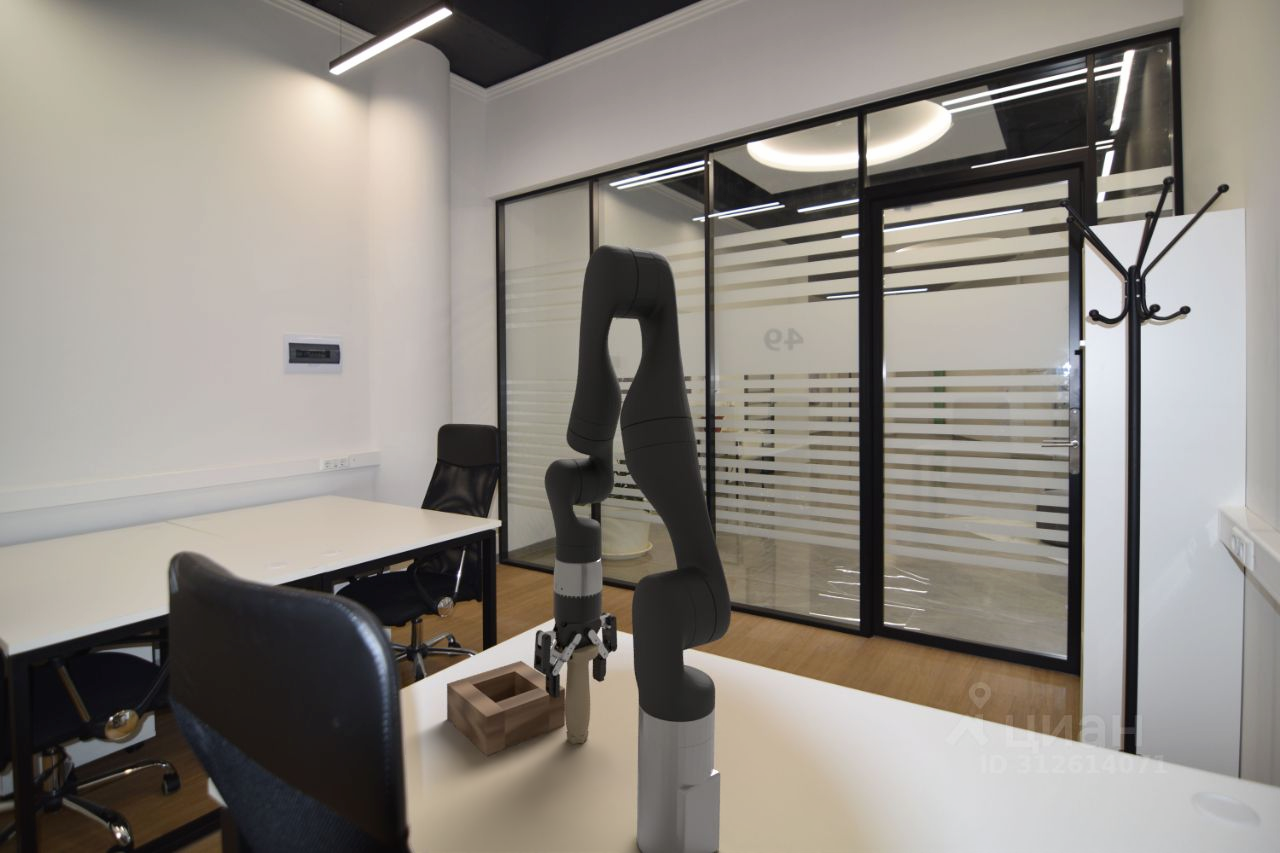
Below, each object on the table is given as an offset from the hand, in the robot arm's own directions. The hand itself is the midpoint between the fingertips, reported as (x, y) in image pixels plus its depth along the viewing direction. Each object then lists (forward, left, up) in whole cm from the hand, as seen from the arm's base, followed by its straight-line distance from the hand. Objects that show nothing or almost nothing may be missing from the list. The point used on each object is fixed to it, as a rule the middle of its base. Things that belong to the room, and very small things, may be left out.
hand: (576, 687), depth 98 cm
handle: (0, 0, -8) cm, 8 cm away
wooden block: (+12, +6, -8) cm, 16 cm away
